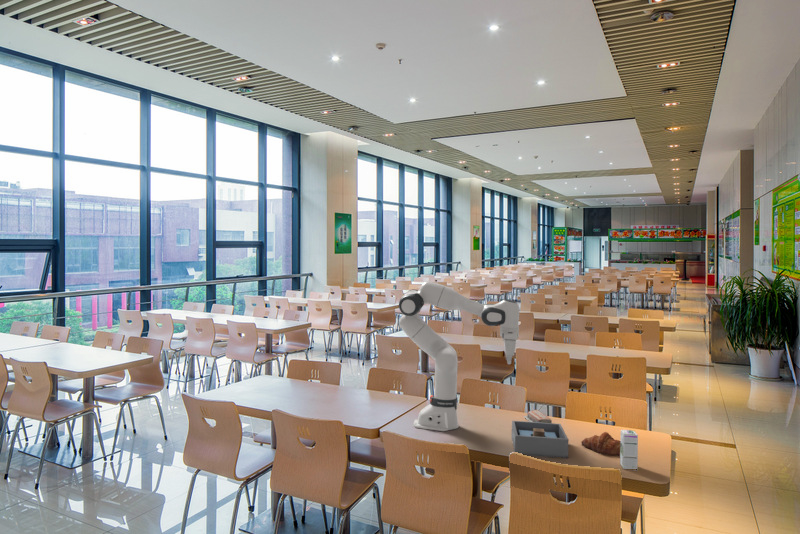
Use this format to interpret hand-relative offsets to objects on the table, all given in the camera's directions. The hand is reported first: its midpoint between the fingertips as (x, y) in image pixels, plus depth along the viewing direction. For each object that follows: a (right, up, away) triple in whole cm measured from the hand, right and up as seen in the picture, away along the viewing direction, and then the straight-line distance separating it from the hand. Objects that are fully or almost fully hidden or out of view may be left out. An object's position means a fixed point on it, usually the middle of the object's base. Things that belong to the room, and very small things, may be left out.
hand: (508, 362), depth 259 cm
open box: (+9, -35, -19) cm, 41 cm away
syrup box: (+41, -36, -40) cm, 67 cm away
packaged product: (+19, -35, +19) cm, 44 cm away
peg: (+9, -34, -19) cm, 40 cm away
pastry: (+39, -36, -21) cm, 57 cm away
